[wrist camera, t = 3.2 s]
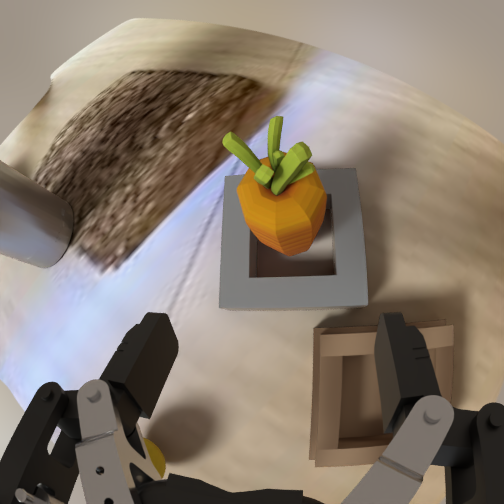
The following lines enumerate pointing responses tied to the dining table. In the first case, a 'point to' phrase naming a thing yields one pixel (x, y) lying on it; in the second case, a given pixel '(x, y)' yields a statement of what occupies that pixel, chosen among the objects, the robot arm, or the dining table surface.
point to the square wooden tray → (361, 391)
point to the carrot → (280, 193)
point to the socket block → (305, 287)
